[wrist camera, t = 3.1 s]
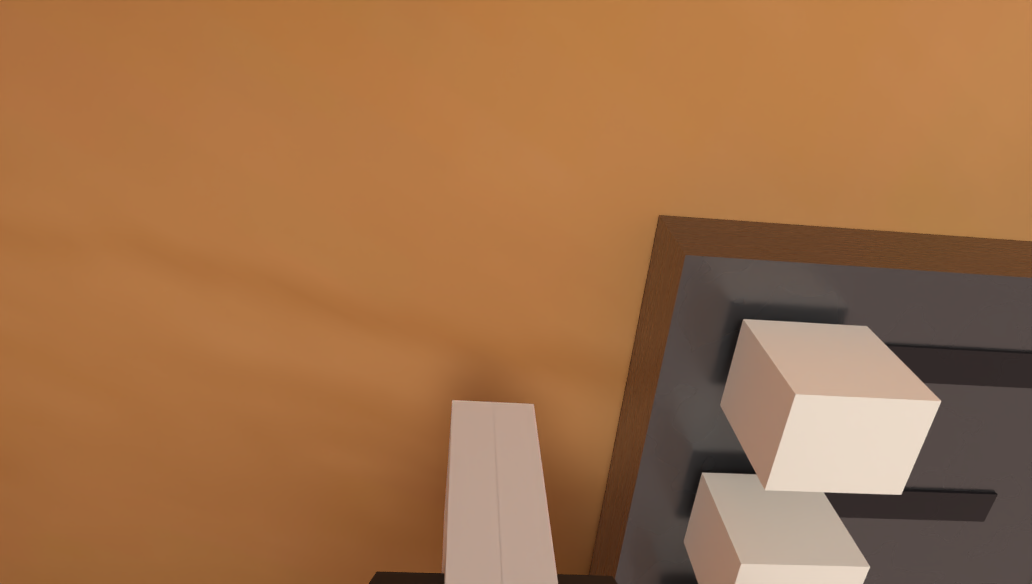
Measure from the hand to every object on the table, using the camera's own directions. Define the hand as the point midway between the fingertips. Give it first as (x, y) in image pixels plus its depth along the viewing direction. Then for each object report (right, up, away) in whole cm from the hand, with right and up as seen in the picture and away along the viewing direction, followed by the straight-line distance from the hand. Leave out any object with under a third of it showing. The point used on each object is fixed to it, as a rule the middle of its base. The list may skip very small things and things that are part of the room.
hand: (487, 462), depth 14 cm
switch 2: (+7, -3, +6) cm, 9 cm away
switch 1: (+7, +1, +4) cm, 8 cm away
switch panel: (+12, -2, +9) cm, 15 cm away
